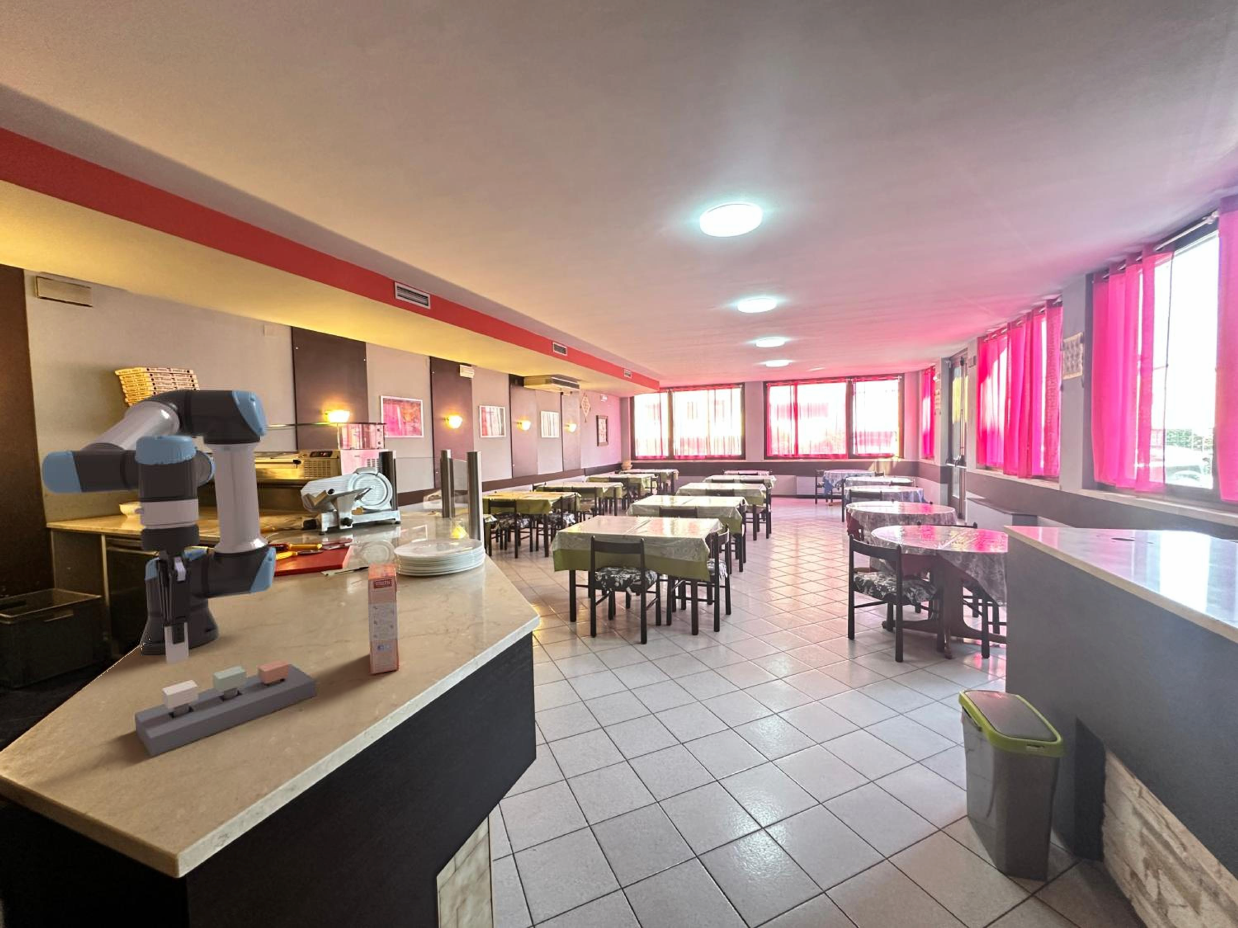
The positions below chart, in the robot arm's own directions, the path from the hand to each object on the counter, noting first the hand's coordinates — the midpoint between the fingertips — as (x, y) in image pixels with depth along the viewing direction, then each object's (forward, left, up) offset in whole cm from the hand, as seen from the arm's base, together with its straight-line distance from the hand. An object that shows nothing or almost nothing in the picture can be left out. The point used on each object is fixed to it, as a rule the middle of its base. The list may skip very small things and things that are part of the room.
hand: (177, 660), depth 86 cm
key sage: (0, +7, -10) cm, 12 cm away
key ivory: (0, 0, -10) cm, 10 cm away
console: (0, +7, -12) cm, 14 cm away
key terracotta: (0, +14, -11) cm, 18 cm away
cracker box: (+2, +35, -13) cm, 37 cm away
